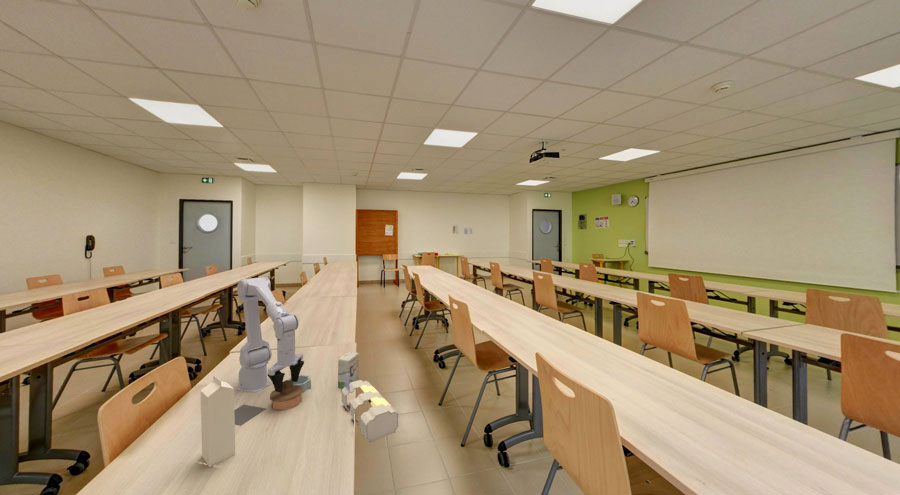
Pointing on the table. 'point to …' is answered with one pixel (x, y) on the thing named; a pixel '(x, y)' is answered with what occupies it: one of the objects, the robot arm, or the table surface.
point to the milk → (217, 421)
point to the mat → (246, 413)
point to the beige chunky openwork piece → (371, 410)
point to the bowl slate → (303, 382)
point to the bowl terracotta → (287, 403)
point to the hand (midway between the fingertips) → (286, 386)
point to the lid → (286, 392)
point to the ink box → (348, 368)
